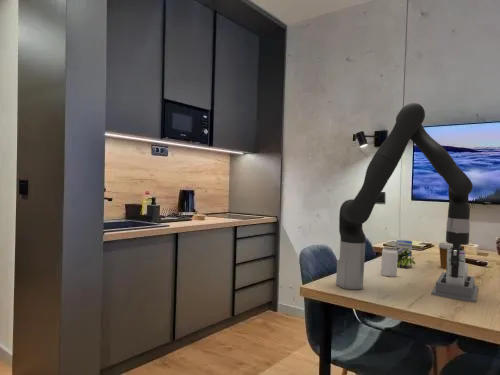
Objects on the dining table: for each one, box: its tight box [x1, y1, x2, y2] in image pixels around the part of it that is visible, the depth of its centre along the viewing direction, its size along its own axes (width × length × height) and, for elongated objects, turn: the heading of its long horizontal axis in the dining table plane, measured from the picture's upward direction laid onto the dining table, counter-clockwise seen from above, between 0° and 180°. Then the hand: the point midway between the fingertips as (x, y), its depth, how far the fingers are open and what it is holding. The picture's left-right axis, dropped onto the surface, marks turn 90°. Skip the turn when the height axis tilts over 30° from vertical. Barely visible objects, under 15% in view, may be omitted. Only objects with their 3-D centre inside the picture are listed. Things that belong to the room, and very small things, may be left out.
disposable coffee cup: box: [438, 242, 453, 270], centre depth 187 cm, size 10×10×12 cm
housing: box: [430, 262, 479, 304], centre depth 145 cm, size 24×14×12 cm, turn 147°
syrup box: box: [445, 248, 466, 286], centre depth 141 cm, size 6×6×14 cm
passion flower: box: [395, 247, 416, 269], centre depth 187 cm, size 11×11×12 cm
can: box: [380, 246, 398, 278], centre depth 166 cm, size 6×6×12 cm
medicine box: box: [395, 239, 413, 257], centre depth 219 cm, size 8×4×9 cm, turn 81°
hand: (455, 275), depth 141 cm, fingers closed on syrup box, 6 cm apart
